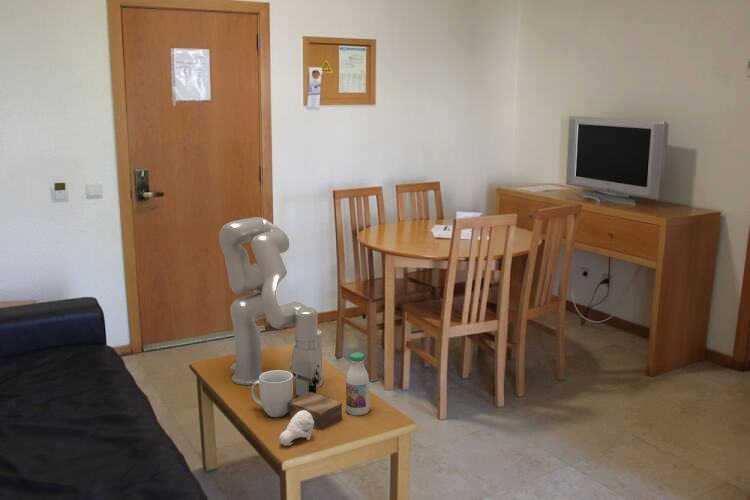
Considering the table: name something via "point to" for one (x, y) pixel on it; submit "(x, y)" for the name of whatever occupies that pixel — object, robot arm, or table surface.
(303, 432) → the white animal figurine
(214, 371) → the table surface
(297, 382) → the block
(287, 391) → the mug
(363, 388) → the milk bottle
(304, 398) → the walnut box
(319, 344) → the spray can
